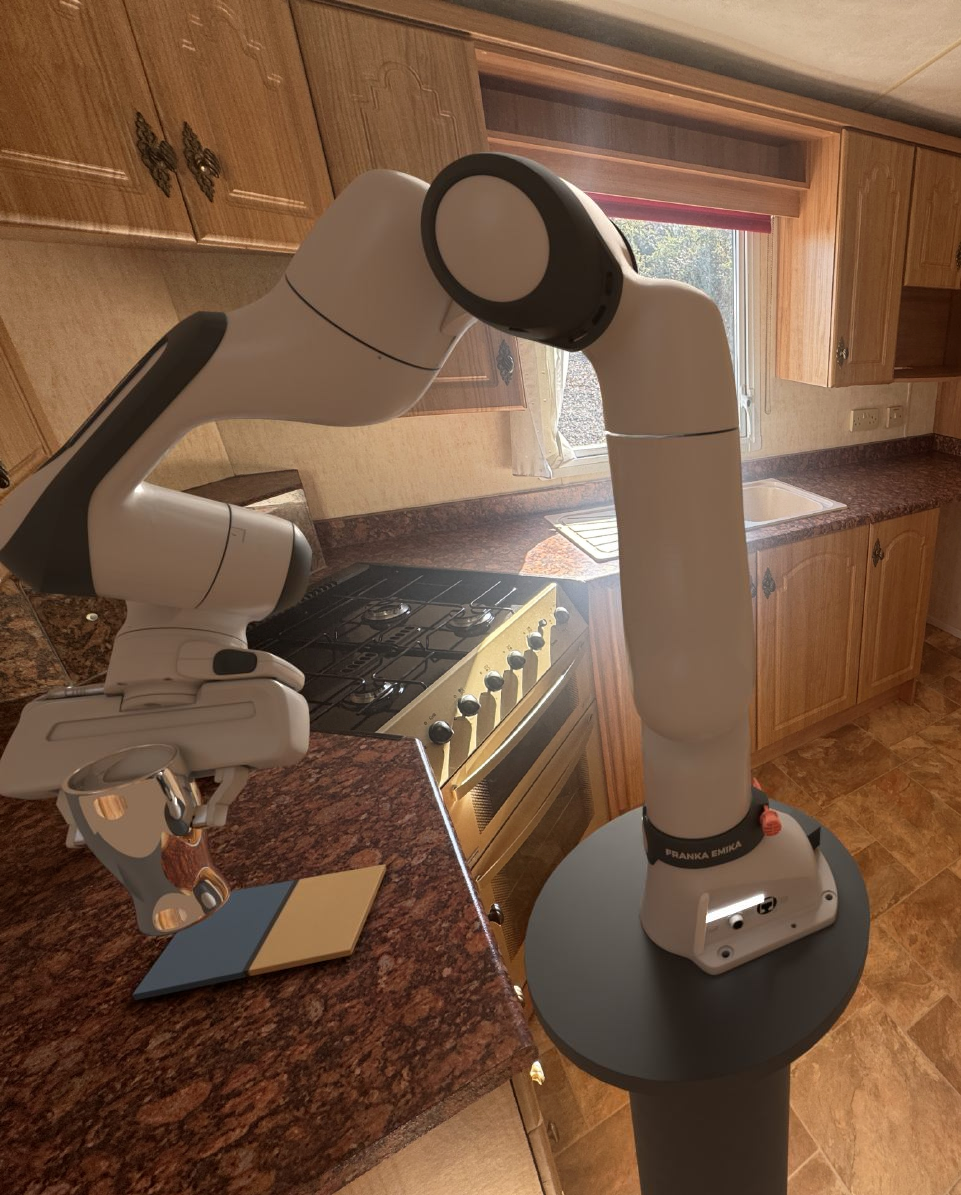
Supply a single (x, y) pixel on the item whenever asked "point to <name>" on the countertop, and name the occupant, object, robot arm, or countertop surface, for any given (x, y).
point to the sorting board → (268, 931)
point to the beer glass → (150, 839)
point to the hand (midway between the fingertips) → (148, 836)
